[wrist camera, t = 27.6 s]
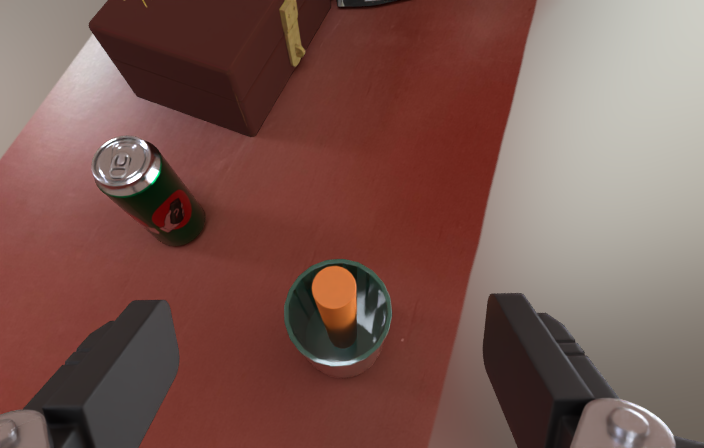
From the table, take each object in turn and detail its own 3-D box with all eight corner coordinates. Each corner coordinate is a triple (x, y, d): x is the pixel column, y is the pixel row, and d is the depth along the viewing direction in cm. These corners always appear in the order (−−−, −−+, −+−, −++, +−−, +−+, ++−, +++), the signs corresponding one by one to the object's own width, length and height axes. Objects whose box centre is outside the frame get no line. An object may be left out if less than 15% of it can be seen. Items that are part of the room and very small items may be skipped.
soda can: (210, 200, 44) (161, 130, 33) (203, 248, 42) (149, 190, 31) (159, 200, 45) (94, 130, 33) (150, 248, 43) (78, 190, 32)
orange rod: (327, 347, 38) (308, 306, 24) (330, 319, 39) (314, 263, 24) (355, 349, 38) (353, 311, 23) (358, 321, 39) (358, 267, 24)
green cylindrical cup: (395, 358, 38) (409, 340, 28) (319, 391, 37) (305, 384, 27) (364, 285, 41) (366, 244, 31) (292, 314, 40) (270, 281, 30)
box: (265, 142, 47) (243, 77, 38) (133, 95, 50) (82, 23, 40) (342, 7, 54) (339, -75, 45) (224, -28, 57) (198, -112, 48)
